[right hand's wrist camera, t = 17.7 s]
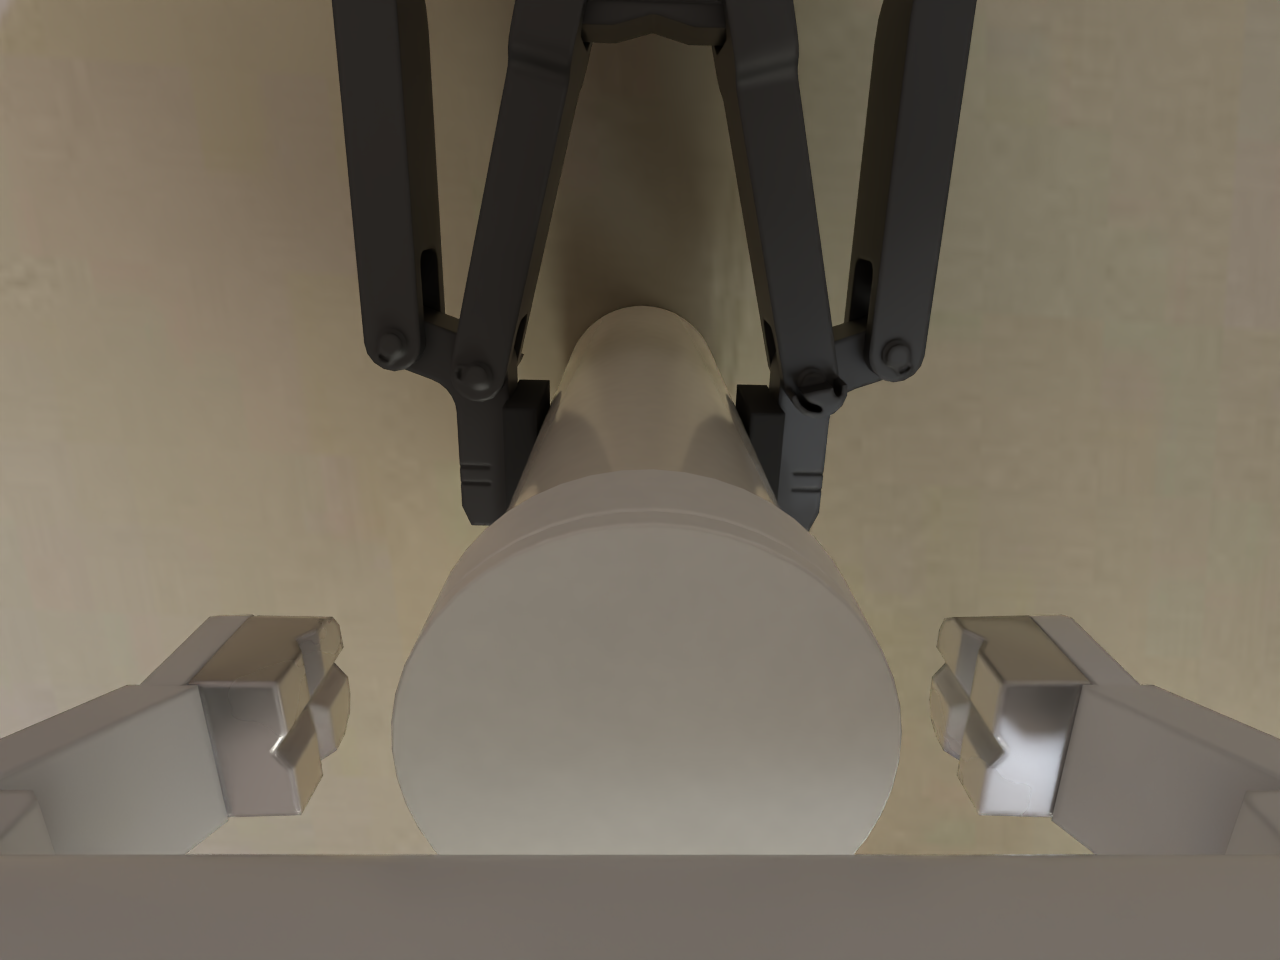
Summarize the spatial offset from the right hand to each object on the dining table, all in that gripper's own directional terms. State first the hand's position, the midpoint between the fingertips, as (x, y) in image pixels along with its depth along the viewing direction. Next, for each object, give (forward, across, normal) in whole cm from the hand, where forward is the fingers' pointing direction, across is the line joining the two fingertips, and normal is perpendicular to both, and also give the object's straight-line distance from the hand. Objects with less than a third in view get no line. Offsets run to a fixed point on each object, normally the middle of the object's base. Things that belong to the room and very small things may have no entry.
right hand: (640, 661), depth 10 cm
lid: (-2, 0, 0) cm, 2 cm away
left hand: (+9, 0, -5) cm, 11 cm away
